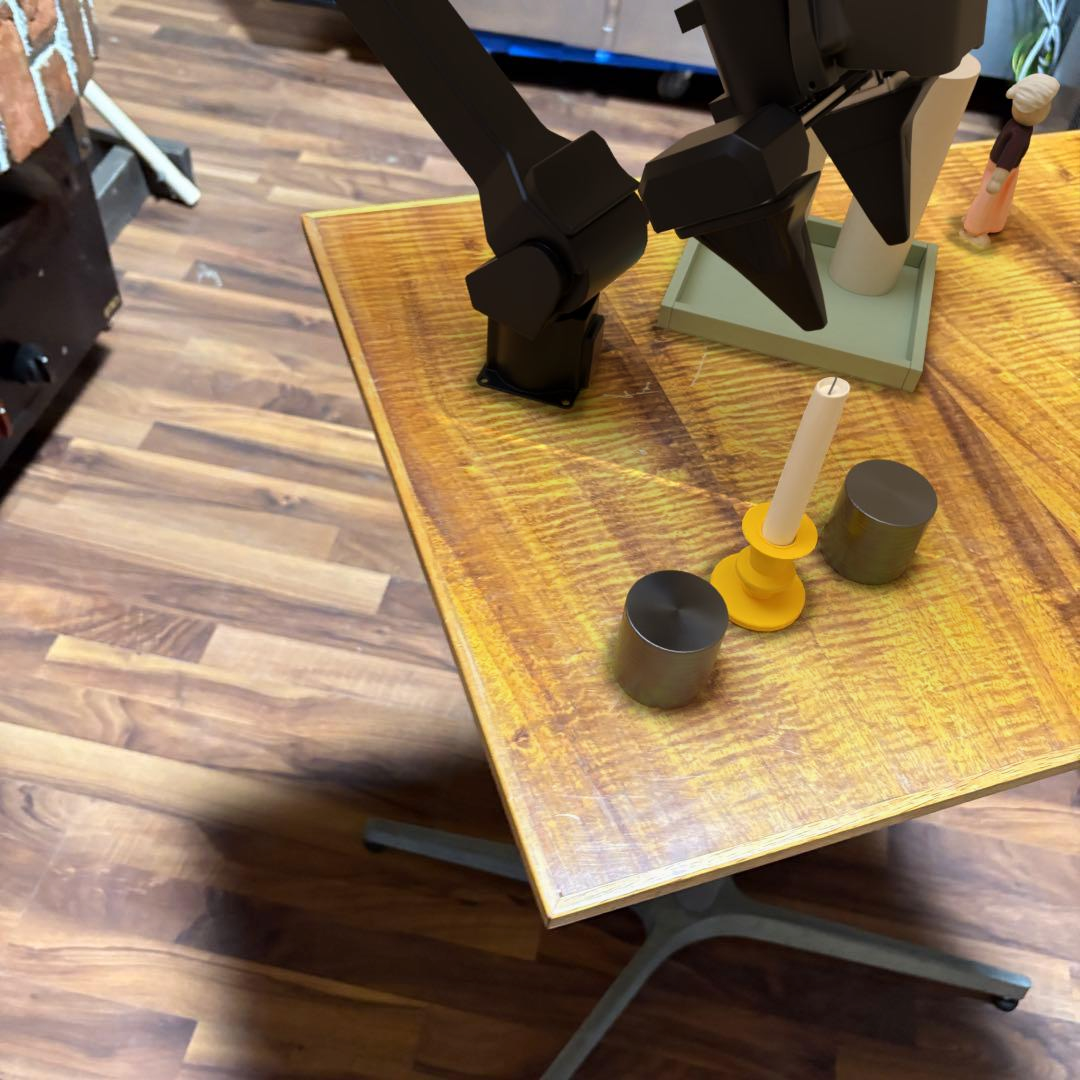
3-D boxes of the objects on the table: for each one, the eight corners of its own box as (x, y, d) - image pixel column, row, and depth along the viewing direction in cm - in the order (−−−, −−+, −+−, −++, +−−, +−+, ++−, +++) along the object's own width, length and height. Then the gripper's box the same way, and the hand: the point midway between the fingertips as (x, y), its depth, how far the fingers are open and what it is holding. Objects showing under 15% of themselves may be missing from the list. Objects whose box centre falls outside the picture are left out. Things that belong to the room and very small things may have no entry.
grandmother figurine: (1003, 262, 79) (1080, 103, 70) (953, 254, 80) (1023, 94, 70) (994, 210, 84) (1065, 55, 75) (947, 202, 85) (1011, 47, 75)
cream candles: (723, 261, 76) (776, 42, 64) (736, 226, 79) (789, 11, 67) (892, 303, 74) (979, 85, 62) (898, 265, 77) (982, 51, 65)
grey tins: (593, 654, 53) (604, 596, 49) (860, 506, 61) (888, 446, 57) (653, 727, 50) (670, 671, 47) (924, 562, 59) (957, 503, 55)
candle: (698, 613, 55) (766, 396, 43) (721, 545, 58) (790, 326, 47) (793, 645, 54) (889, 431, 42) (810, 574, 57) (904, 357, 46)
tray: (655, 331, 71) (660, 304, 69) (703, 216, 81) (709, 190, 79) (910, 397, 68) (922, 371, 66) (927, 270, 78) (939, 244, 76)
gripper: (815, -88, 32) (949, 357, 38) (1021, -200, 42) (1100, 165, 48) (565, 39, 40) (709, 388, 46) (788, -81, 50) (881, 218, 56)
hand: (860, 283), depth 49 cm, fingers open, 9 cm apart
